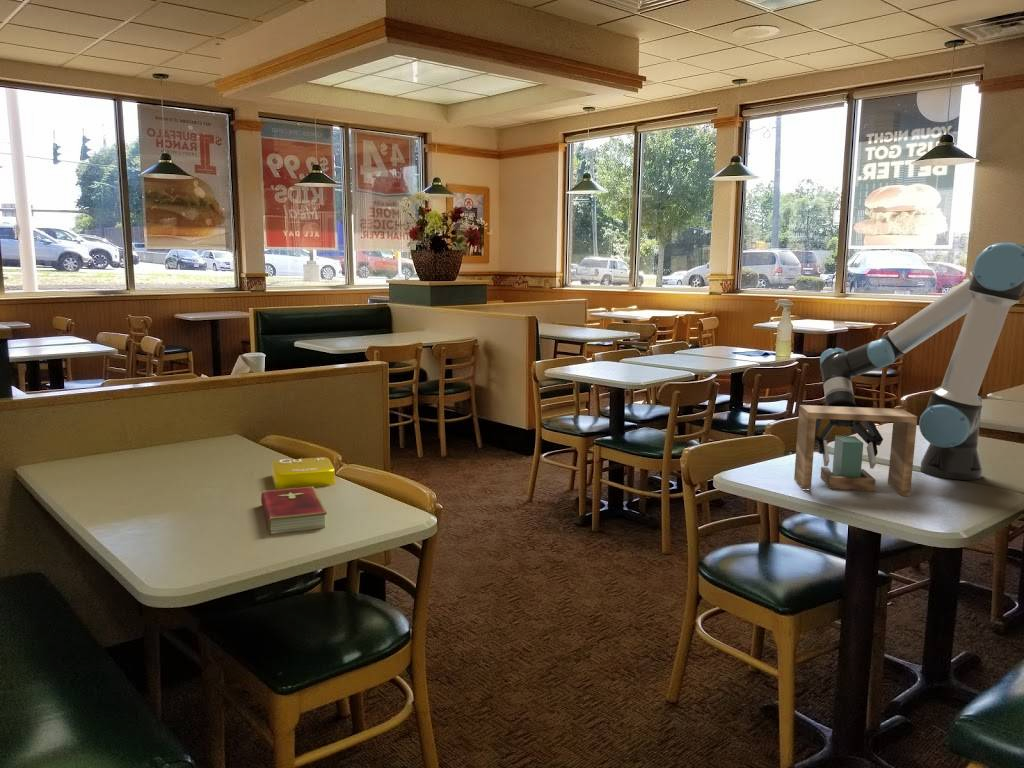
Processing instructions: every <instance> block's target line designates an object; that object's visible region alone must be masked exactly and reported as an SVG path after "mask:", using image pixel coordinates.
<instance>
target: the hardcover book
mask: <svg viewBox="0 0 1024 768" xmlns="http://www.w3.org/2000/svg"><path fill="white" fill-rule="evenodd" d="M260 497H261V499H260V500H261V507H262V509H263V513H264V518H265V522H266V526H267V530H268V533H269V535H272V534H273V535H274V534H279V533H280V534H282V533H290V532H299V531H307V530H308V531H310V530H317V529H325V528H326V524H325V523H326V520H325V519H326V516H325V515H327V510H326V509H325V507H324V504H323V502H322V501H321V499H320V497H319V495H318V493H317V490H316V489H315V487H303V488H292V489H273V490H263V491H262V492H261V496H260Z"/></svg>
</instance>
